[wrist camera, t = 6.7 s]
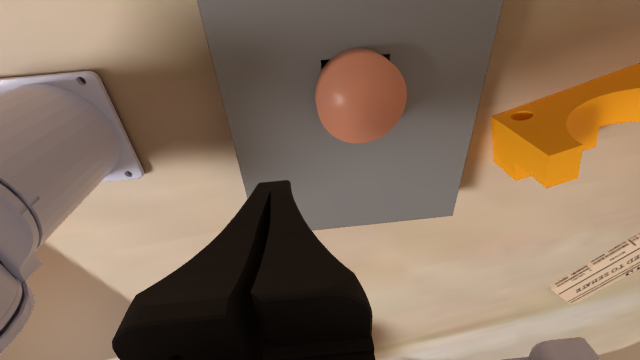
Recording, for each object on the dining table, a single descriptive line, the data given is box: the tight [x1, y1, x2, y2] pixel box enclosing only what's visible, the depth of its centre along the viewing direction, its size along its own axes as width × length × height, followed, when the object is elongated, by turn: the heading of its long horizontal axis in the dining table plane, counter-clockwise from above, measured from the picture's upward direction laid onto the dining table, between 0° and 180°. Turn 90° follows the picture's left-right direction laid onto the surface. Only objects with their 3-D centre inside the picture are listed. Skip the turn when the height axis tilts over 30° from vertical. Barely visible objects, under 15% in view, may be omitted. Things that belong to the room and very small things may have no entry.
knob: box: [315, 48, 407, 144], centre depth 18 cm, size 5×5×5 cm
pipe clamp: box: [491, 63, 640, 188], centre depth 21 cm, size 12×4×6 cm, turn 111°
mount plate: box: [197, 0, 503, 231], centre depth 19 cm, size 16×22×3 cm
